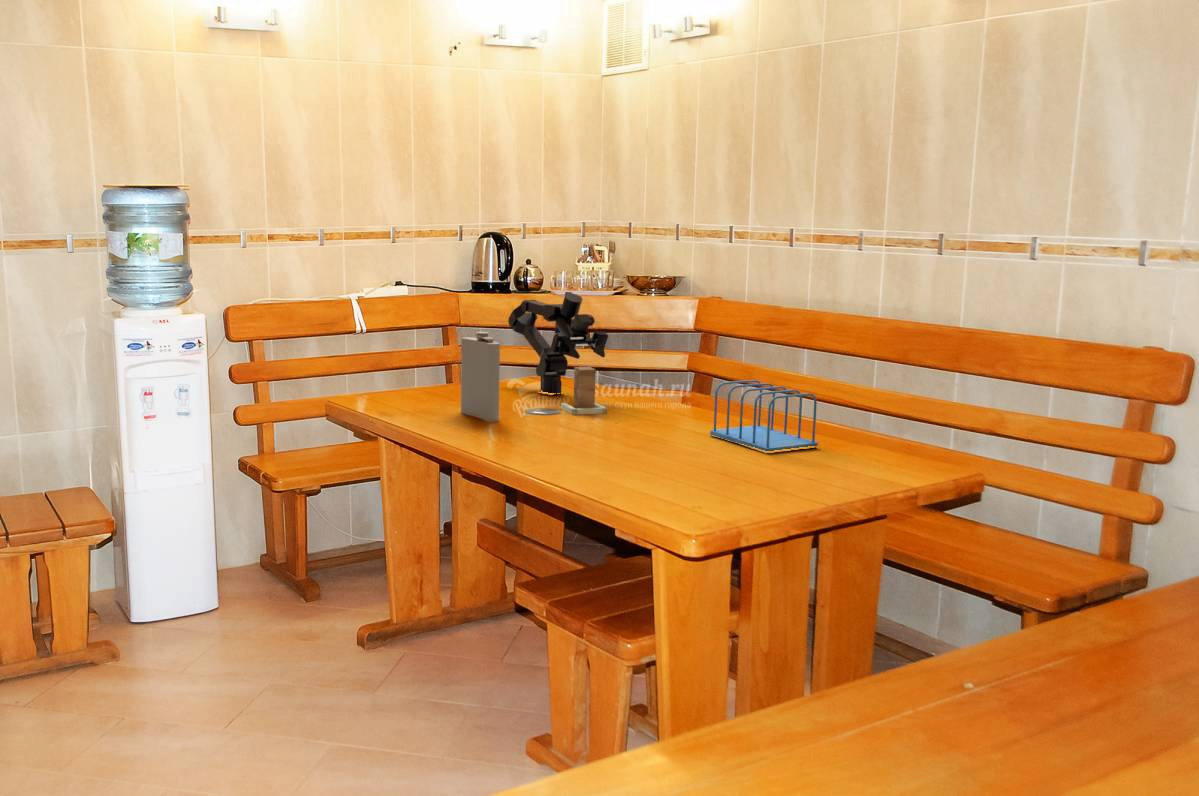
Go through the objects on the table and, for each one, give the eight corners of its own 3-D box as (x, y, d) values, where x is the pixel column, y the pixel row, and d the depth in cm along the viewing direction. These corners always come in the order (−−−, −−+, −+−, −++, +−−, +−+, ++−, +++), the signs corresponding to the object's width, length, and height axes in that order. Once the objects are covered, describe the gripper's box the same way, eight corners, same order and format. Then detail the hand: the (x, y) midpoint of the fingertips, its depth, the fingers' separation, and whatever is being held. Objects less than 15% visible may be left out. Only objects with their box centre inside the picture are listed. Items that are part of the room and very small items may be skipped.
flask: (503, 420, 321) (504, 334, 316) (489, 422, 318) (490, 335, 314) (472, 411, 334) (473, 328, 330) (458, 412, 331) (459, 329, 327)
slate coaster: (516, 413, 333) (516, 411, 333) (541, 408, 341) (541, 406, 341) (543, 418, 326) (543, 416, 326) (568, 413, 334) (568, 411, 334)
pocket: (560, 409, 341) (561, 403, 340) (594, 408, 344) (594, 402, 344) (572, 416, 330) (572, 409, 330) (607, 414, 334) (607, 408, 334)
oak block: (573, 409, 339) (574, 367, 337) (588, 408, 341) (589, 366, 338) (578, 412, 334) (579, 369, 332) (594, 411, 336) (595, 369, 334)
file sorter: (709, 436, 307) (711, 382, 304) (758, 432, 316) (761, 378, 313) (767, 455, 286) (770, 396, 283) (818, 449, 294) (821, 392, 292)
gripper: (550, 308, 346) (572, 336, 335) (601, 307, 356) (624, 334, 345) (541, 338, 352) (563, 366, 341) (591, 336, 361) (614, 363, 351)
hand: (591, 356), depth 345 cm, fingers open, 9 cm apart
